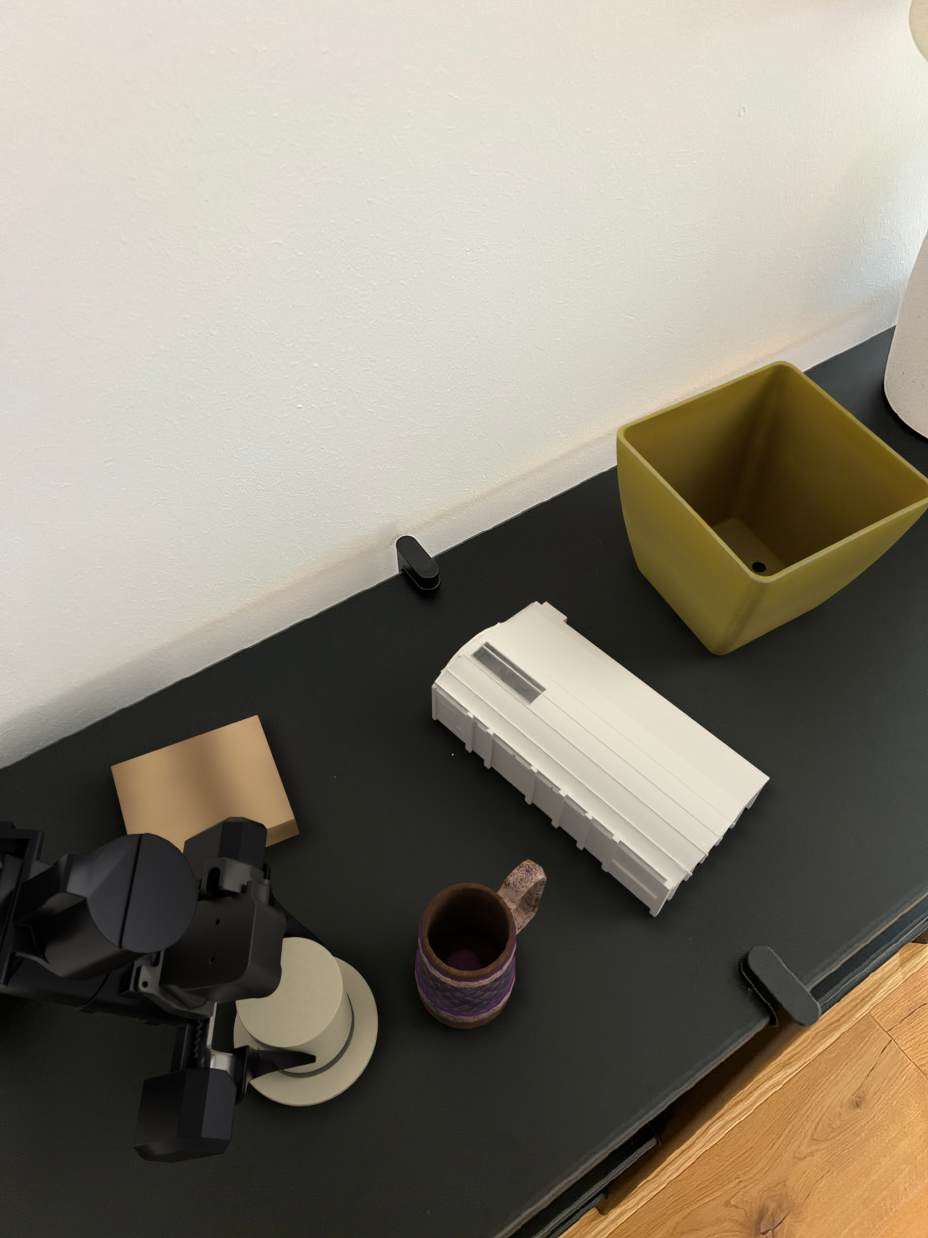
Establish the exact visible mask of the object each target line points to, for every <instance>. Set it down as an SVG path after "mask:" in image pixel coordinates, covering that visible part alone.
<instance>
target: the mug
mask: <svg viewBox="0 0 928 1238" xmlns="http://www.w3.org/2000/svg"><path fill="white" fill-rule="evenodd" d="M547 880H548V879H547V876H546V874H545V871H544V869H543V867H542V866H540V865H539V864H537V863H536V862H535V861H532V860H531V859H529V858H527V859H525V860H524V861H522V862H521V863H519V864H518V865H517V866H516V867H515V868H514V869H513V870H512V871H511V872H510V874H509V875H508V876H507V877H506V878H505V879H504V880H503V883H502V885H501V887H500V888H499V889H498V891H495V890H494V889H492V888H491V887H488V886H485V885H483V884H480V883H475V882H474V883H473V882H460V883H456V884H452V885H449V886H447V887H445V888H444V889H442V890H441V891H439V892H438V893H436V894H435V895H434V897H433V898H432V899H431V900H430V901H429V902H428V903H427V905H426V907H425V908H424V911H423V913H422V915H421V918H420V921H419V928H418V940H417V943H418V948H417V950H416V953H415V966H414V977H415V982H416V985H417V990H418V995H419V998H420V1000H421V1002H422V1004H423V1006H424V1007H425V1009H426V1011H427V1012H428V1013H429V1014H430V1015H431V1016H432V1017H433V1018H435V1019H436V1020H437V1021H438V1022H439V1023H441V1024H444V1025H446V1026H448V1027H451V1028H452V1029H464V1030H471V1029H474V1028H479V1027H482V1026H485V1025H486V1024H488V1023H490V1022H491V1021H493V1020H494V1019H495V1018H497V1017H498V1016H499V1015H500V1013H501V1012H502V1010H504V1008H505V1007H506V1006H507V1004H508V1001H509V999H510V996H511V993H512V990H513V987H514V984H515V981H516V962H517V961H516V959H517V958H516V955H515V952H516V948H517V935H518V934H519V933H520V932H521V931H522V930H523V929H524V928H525V927H526V926H527V925H528V923H530V921H531V920H532V919H533V918H534V917H535V916H536V914H537V912H538V910H539V906H540V902H541V899H542V894H543V892H544V889H545V886H546V883H547Z"/></svg>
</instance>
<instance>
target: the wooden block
mask: <svg viewBox="0 0 928 1238" xmlns="http://www.w3.org/2000/svg"><path fill="white" fill-rule="evenodd" d="M110 770H111V773H112V777H113V781H114V786H115V789H116V794H117V799H118V802H119V807H120V810H121V814H122V819H123V821H124V827H125V831H126V835H128V834H142V833H143V834H144V833H151V834H156V835H158V836H161V837H163V838H165V839H167V840H169V841H170V842H171V843H172V844H174V845H175V846H176V847H177V848H179V849H180V851H181V852H182V853H183V848H184V843H185V841H186V840H187V839H189V838H190V837H192V836H194V835H195V834H197V833H199V832H201V831H203V830H205V829H207V828H209V827H211V826H213V825H215V824H217V823H219V822H220V821H222V820H224V819H226V818H228V817H245V818H248V819H251V820H254V821H256V822H259V823H262V824H264V826H265V827H266V828H267V829H268V830H267V838H266V847H265V848H267V847H270V846H273V845H275V844H277V843H280V842H282V841H286V840H287V839H290V838H293V837H295V836H298V835H300V831H299V827H298V825H297V821H296V818H295V815H294V813H293V812H294V811H293V809H292V807H291V804H290V801H289V799H288V798H289V797H288V795H287V793H286V789H285V787H284V785H283V781H282V779H281V776H280V774H279V771H278V768H277V765H276V762H275V759H274V757H273V754H272V751H271V748H270V745H269V743H268V739H267V737H266V734H265V731H264V729H263V727H262V723H261V720H260V718H259V715H257V714H256V715H253V716H250V717H247V718H245V719H242V720H238V721H236V722H233V723H230V724H227V725H225V726H222V727H218V728H216V729H213V730H210V731H207V732H205V733H202V734H199V735H196V736H193V737H190V738H187V739H185V740H182V741H179V742H175V743H173V744H170V745H168V746H165V747H162V748H159V749H157V750H156V749H155V750H152V751H150V752H147V753H145V754H142V755H140V756H136V757H134V758H130V759H128V760H125V761H122V762H120V763H119V762H118V763H117V764H113V765H111V766H110Z"/></svg>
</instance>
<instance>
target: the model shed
mask: <svg viewBox="0 0 928 1238" xmlns="http://www.w3.org/2000/svg"><path fill="white" fill-rule="evenodd" d="M567 620H568V617H567V616H566V615H565V614H563V613H562V612H561V611H559V610H558V609H557V608H555V606H553V605H551V604H550V603H549V602H548V601H545V602H543V603H542V604H541V603H540V602H538V601H537V600H536V601H534V602H531V603H530V604H528V605H527V606H526V607H524V608H523V609H521V610H520V611H519V612H517V613H516V614H514V615H512V617H510V618H509V619H507V620H506V621H504V622H497V624H495V625H493V626H490V627H487V628H486V629H484V630H482V631H481V632H479V633H478V634H476V635H474V637H472V638H471V639H470V640H469V641H467V642H466V643H465V644H464V645H462V646H461V648H459V649H458V651H457V652H456V653H455V654H453V656H452V658H451V659H450V660H449V661H448V663H447V664H446V666H445V667H443V669H441V670H440V674H439V676H438V677H437V678H436V679H435V680H434V683H433V684H432V685H431V715H432V718H431V719H433V720H434V721H436V720H438V721H439V722H440V723H441V724H443V726H445V727H446V728H447V729H448V730H449V731H451V732H452V734H454V735H455V736H456V737H457V738H458V739H460V740H461V741H462V742H463V743H465V750H466V751H467V752H468V753H472V752H475V754H477V755H478V756H479V757H480V758H482V759H483V766H484V767H486V768H487V769H488V770H490V769H491V768H493V769H494V770H495V771H496V772H497V773H499V774H500V775H501V776H502V777H503V778H504V779H505V780H506V781H507V782H509V783H510V784H511V785H512V786H513V787H515V788H516V789H517V791H519V792H520V793H521V794H522V795H524V796H525V798H524V801H525V802H526V803H527V804H528V805H529V806H531V804H534V805H535V806H536V807H537V808H539V810H541V811H542V812H543V813H544V814H545V815H546V816H547V817H549V818H550V819H551V825H552V826H553V827H554V828H555V829H558V828H559V827H560V828H562V829H563V830H564V831H565V832H566V833H567V834H568V835H570V836H571V837H572V838H573V839H574V840H575V841H576V845H575V846H576V847H577V848H578V849H579V850H580V851H583V850H584V848H585V850H587V851H588V853H590V854H591V855H592V856H594V857H595V858H596V859H597V860H598V861H599V862H600V863H602V864H601V869H602V870H603V871H604V872H605V873H609V874H610V875H611V876H612V877H613V878H615V880H617V881H618V882H619V883H620V884H622V885H623V886H624V887H625V888H626V889H627V890H628V891H629V892H630V893H632V895H634V896H635V897H636V898H637V899H639V900H640V901H641V902H642V903H643V904H644V905H645V906H647V907H648V908H649V909H650V910H649V911H648V913H649V914H650V915H651V916H653V917H654V918H656V917H657V915H658V914H659V913H660V912H661V910H662V908H663V906H664V905H665V902H666V901H670V900H671V899H672V898H673V896H674V895H675V893H676V891H677V889H678V888H679V886H680V884H681V883H682V881H684V882H687V881H688V880H689V878H690V877H692V876H693V872H694V870H695V868H696V866H697V864H699V863H700V864H701V865H702V863H704V861H705V859H706V858H707V857H709V853H710V851H711V849H712V848H713V847H714V846H715V847H718V845H719V844H720V842H721V841H722V840H723V837H724V835H725V834H726V832H727V831H728V829H731V830H732V829H733V828H734V827H735V826H736V824H737V821H738V820H739V819H740V817H741V815H742V814H743V812H744V810H745V808H746V809H748V810H750V808H751V807H752V806H753V804H754V802H755V801H756V799H757V797H758V796H759V794H760V793H761V791H762V789H763V788H764V787H765V785H766V783H768V781H769V780H770V779H771V777H769V776H768V775H766V774H765V773H763V772H762V771H761V770H760V769H758V768H757V767H756V766H755V765H753V764H752V763H751V762H749V760H747V759H745V758H744V757H743V756H741V755H740V754H739V753H737V752H736V751H735V750H733V749H732V748H731V747H730V746H728V745H727V744H726V743H724V742H723V741H722V740H721V739H719V738H718V737H717V736H715V735H714V734H713V733H711V732H709V731H708V730H707V729H706V728H705V727H703V726H702V725H700V724H699V723H698V722H697V721H695V720H694V719H692V717H690V716H689V715H688V714H686V713H685V712H683V711H682V710H681V709H679V707H677V706H676V705H675V704H673V703H672V702H671V701H669V700H668V699H666V698H665V697H664V696H662V695H661V694H659V693H658V691H656V690H654V689H653V688H652V687H650V686H649V685H648V684H646V683H645V682H644V681H643V680H641V679H640V678H638V676H636V675H635V674H633V673H632V672H631V671H629V670H628V669H627V668H625V667H624V666H623V665H622V664H620V663H619V662H618V661H616V660H615V659H614V658H612V657H611V656H610V655H609V654H607V653H606V652H604V651H603V650H602V649H600V648H599V647H597V646H596V645H595V644H593V643H592V642H591V641H589V640H588V639H587V638H586V637H584V636H583V635H582V634H581V633H579V632H578V631H576V630H575V629H574V628H573V627H571V626H570V625H569V624H567Z"/></svg>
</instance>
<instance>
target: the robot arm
mask: <svg viewBox="0 0 928 1238" xmlns="http://www.w3.org/2000/svg"><path fill="white" fill-rule="evenodd" d="M267 830H268V829H267V828H266V827H265V826H264V824H262V823H259V822H256V821H254V820H251V819H248V818H245V817H228V818H226V819H224V820H222V821H220V822H219V823H217V824H215V825H213V826H211V827H209V828H207V829H205V830H203V831H201V832H199V833H197V834H195V835H194V836H192V837H190V838H189V839H187V840H186V841H185V843H184V848H183V853H182V852H181V851H180V849H179V848H177V847H176V846H175V845H174V844H172V843H171V842H170V841H169V840H167V839H165V838H163V837H161V836H158V835H156V834H151V833H144V834H143V833H142V834H128V835H127V834H125V835H122V836H119V837H116V838H115V839H113V840H111V841H109V842H108V843H106V844H104V845H102V846H100V847H99V848H97V849H96V850H94V851H92V852H90V853H89V854H86V855H83V854H81V853H77V852H68V853H66V854H64V855H63V856H61V857H60V858H58V859H57V860H56V861H55V862H54V863H53V864H52V863H49V862H46V861H42V860H41V856H42V852H43V849H44V844H45V841H46V837H47V833H46V831H44V830H39V829H27V828H24V829H23V828H22V829H21V828H19V827H18V826H17V825H16V824H15V823H14V822H13V821H12V820H2V821H1V820H0V994H5V995H10V996H15V997H20V998H25V999H31V1000H36V1001H42V1002H46V1003H51V1004H58V1005H63V1006H68V1007H72V1008H75V1012H80V1013H84V1014H89V1015H93V1014H96V1013H104V1014H109V1015H114V1016H120V1017H125V1018H131V1019H136V1020H140V1023H141V1024H143V1025H149V1026H154V1027H158V1026H161V1025H167V1026H172V1027H176V1030H175V1035H174V1036H175V1037H174V1042H173V1049H172V1056H171V1063H170V1069H169V1072H166V1073H162V1074H159V1075H156V1076H152V1077H149V1078H145V1079H143V1082H142V1089H141V1094H140V1101H139V1106H138V1110H137V1111H138V1113H137V1118H136V1124H135V1130H134V1135H133V1142H132V1146H131V1147H132V1148H133V1149H134V1151H135V1153H137V1154H138V1156H139V1157H140V1158H141V1159H142V1160H144V1161H147V1162H155V1163H168V1164H173V1163H180V1162H185V1161H189V1160H190V1161H191V1160H197V1159H203V1158H207V1157H213V1156H219V1155H224V1154H225V1152H226V1150H227V1148H228V1147H229V1145H230V1143H231V1142H232V1137H233V1136H232V1135H233V1127H234V1126H233V1125H234V1119H235V1118H234V1117H235V1109H236V1106H238V1105H239V1104H241V1103H242V1102H243V1101H244V1099H245V1097H246V1094H247V1086H248V1084H250V1081H252V1080H253V1079H256V1078H258V1077H260V1076H263V1075H265V1074H268V1073H272V1072H277V1071H281V1070H286V1069H290V1068H295V1067H299V1066H303V1065H308V1064H312V1063H315V1062H316V1056H315V1055H312V1054H308V1053H304V1052H299V1051H279V1050H258V1049H254V1048H252V1047H251V1046H250V1045H245V1046H241V1047H237V1048H231V1049H227V1050H222V1051H218V1050H215V1049H213V1048H212V1044H213V1043H212V1042H213V1035H214V1027H215V1019H216V1013H217V1005H218V1004H222V1003H229V1002H236V1001H237V1000H244V999H251V998H255V999H259V998H265V997H268V996H270V995H271V994H273V993H274V992H275V991H276V989H277V988H278V986H279V984H280V981H281V975H282V968H281V955H282V945H283V939H284V938H291V937H297V938H305V939H309V940H312V941H314V942H316V943H318V944H320V945H321V946H323V947H324V948H325V943H324V942H323V941H322V940H321V939H319V938H318V937H317V935H315V934H314V933H313V932H312V931H311V930H310V929H308V928H307V927H306V926H305V925H303V924H302V923H301V922H300V921H299V920H298V919H297V918H296V917H294V916H293V915H292V914H291V913H290V912H289V911H288V910H287V909H286V908H285V907H284V906H283V905H282V904H281V902H279V901H278V899H277V898H276V897H275V896H274V893H273V888H272V881H271V872H272V870H271V869H272V868H271V866H270V865H269V864H268V863H267V862H265V855H266V848H267V847H266V838H267Z"/></svg>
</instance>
